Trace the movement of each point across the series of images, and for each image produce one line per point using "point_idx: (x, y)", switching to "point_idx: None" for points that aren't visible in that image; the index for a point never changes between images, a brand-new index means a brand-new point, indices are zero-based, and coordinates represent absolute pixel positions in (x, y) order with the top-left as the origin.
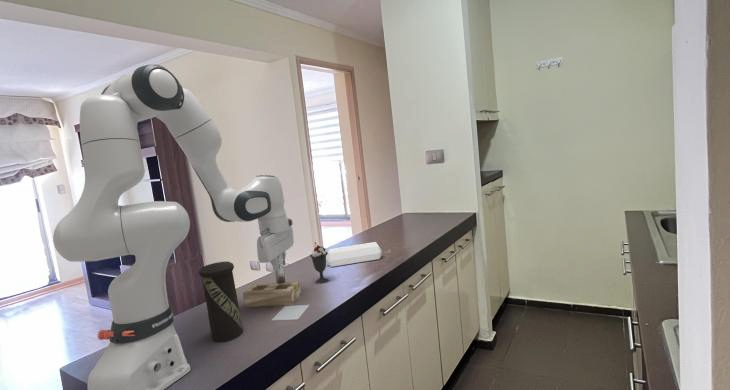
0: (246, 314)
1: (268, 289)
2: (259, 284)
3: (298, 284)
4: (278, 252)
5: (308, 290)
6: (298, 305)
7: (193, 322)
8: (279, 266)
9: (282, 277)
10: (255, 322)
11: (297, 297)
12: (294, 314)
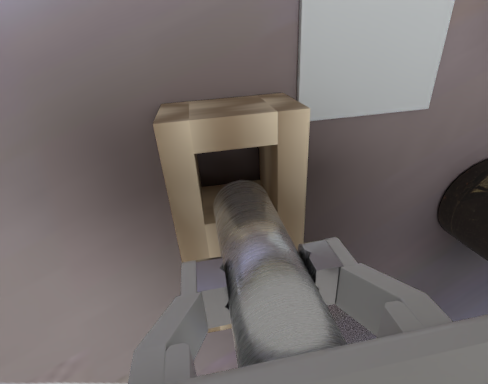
0: (335, 235)
1: None
2: None
3: (172, 118)
4: (485, 368)
5: (73, 98)
6: (300, 50)
7: (357, 334)
8: (320, 253)
9: (267, 202)
10: (409, 167)
11: (212, 101)
12: (402, 21)
